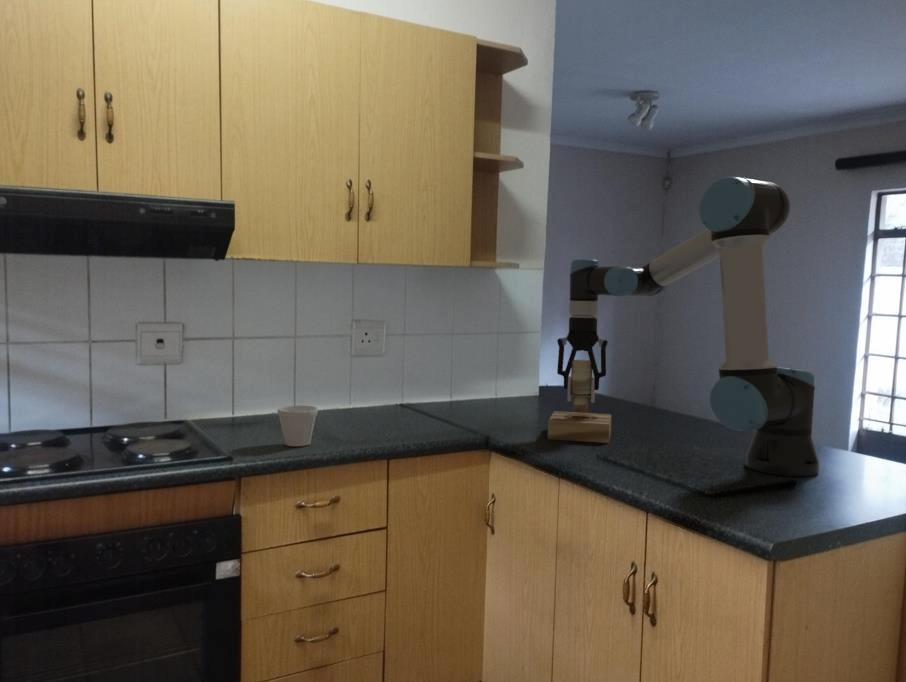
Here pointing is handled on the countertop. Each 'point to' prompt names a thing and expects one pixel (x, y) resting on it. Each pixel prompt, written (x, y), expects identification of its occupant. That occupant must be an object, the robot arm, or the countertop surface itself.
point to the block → (579, 427)
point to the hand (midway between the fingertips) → (580, 401)
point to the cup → (297, 424)
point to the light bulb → (581, 384)
